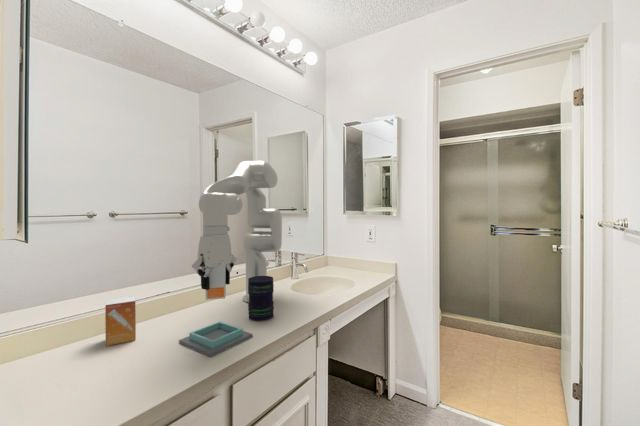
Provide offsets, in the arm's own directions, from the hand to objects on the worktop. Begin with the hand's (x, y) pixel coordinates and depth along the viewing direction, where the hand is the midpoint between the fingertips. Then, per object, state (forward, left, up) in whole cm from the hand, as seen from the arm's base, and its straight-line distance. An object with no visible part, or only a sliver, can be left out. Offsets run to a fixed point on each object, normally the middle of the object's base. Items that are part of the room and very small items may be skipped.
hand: (215, 285), depth 96 cm
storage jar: (-23, -3, -18) cm, 29 cm away
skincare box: (0, 0, -4) cm, 4 cm away
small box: (+17, -26, -18) cm, 36 cm away
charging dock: (0, 0, -18) cm, 18 cm away
